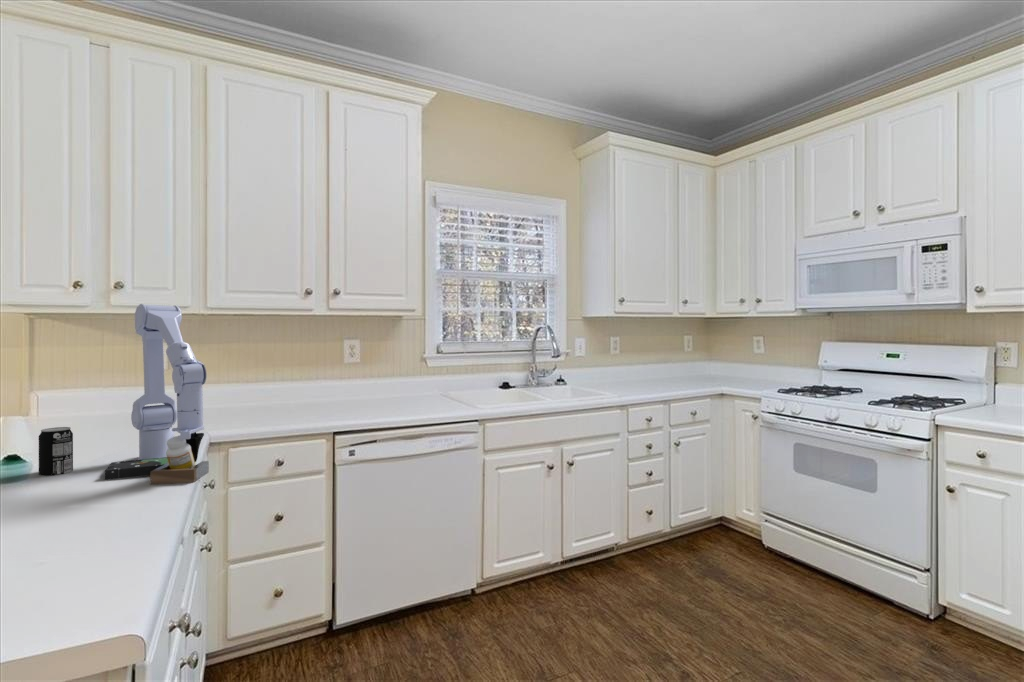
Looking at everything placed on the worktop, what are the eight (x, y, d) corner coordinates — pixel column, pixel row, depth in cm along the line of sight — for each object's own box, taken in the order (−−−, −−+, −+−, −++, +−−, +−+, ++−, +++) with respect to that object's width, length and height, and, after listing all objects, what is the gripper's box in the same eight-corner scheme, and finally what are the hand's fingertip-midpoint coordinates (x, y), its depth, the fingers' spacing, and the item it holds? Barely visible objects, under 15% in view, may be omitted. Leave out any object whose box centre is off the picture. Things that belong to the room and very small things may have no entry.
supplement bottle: (179, 468, 137) (170, 434, 134) (200, 466, 137) (192, 433, 134) (168, 480, 132) (158, 445, 129) (190, 478, 132) (181, 444, 129)
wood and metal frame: (168, 474, 135) (168, 462, 135) (208, 472, 137) (208, 460, 137) (150, 484, 126) (150, 471, 126) (194, 482, 128) (194, 469, 128)
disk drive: (104, 482, 129) (176, 473, 136) (104, 470, 129) (176, 462, 136) (110, 472, 138) (178, 465, 145) (110, 462, 138) (178, 454, 145)
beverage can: (45, 474, 136) (44, 427, 136) (76, 471, 138) (76, 425, 138) (33, 480, 130) (33, 431, 130) (67, 477, 132) (67, 429, 132)
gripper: (177, 407, 142) (179, 458, 142) (165, 415, 128) (166, 470, 128) (207, 405, 144) (209, 455, 145) (198, 412, 131) (200, 467, 131)
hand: (191, 462), depth 137 cm, fingers closed, pressing on supplement bottle
